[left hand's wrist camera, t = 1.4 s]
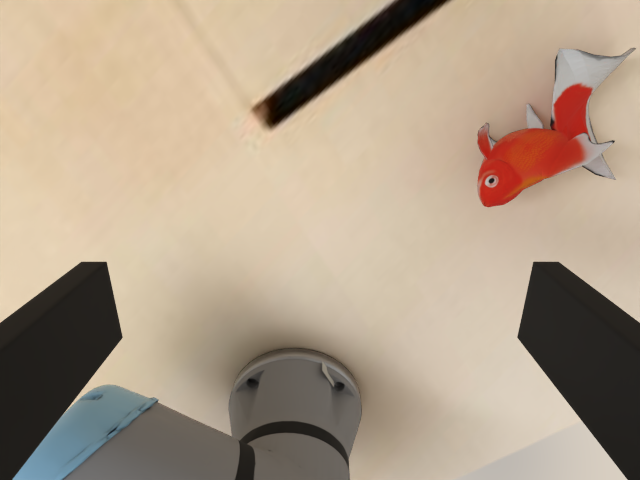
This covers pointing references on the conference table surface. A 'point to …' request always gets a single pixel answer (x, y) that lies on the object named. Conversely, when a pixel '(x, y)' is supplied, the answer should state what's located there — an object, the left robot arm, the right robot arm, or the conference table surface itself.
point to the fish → (549, 133)
